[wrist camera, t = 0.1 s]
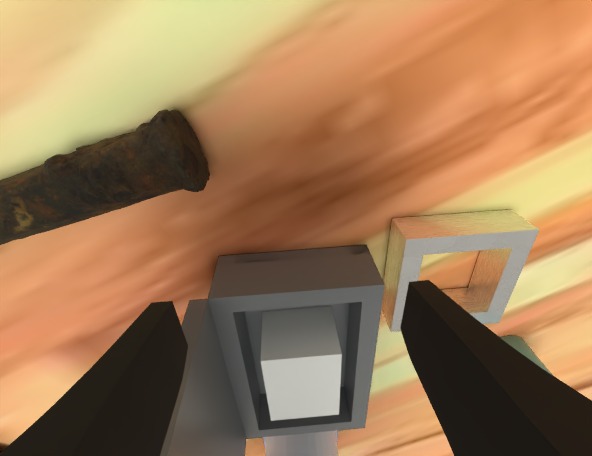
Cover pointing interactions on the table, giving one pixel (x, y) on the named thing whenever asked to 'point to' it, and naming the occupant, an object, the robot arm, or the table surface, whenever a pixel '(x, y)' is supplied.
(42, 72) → the table surface
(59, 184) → the hand tool
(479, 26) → the table surface
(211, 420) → the case
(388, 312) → the white square frame
